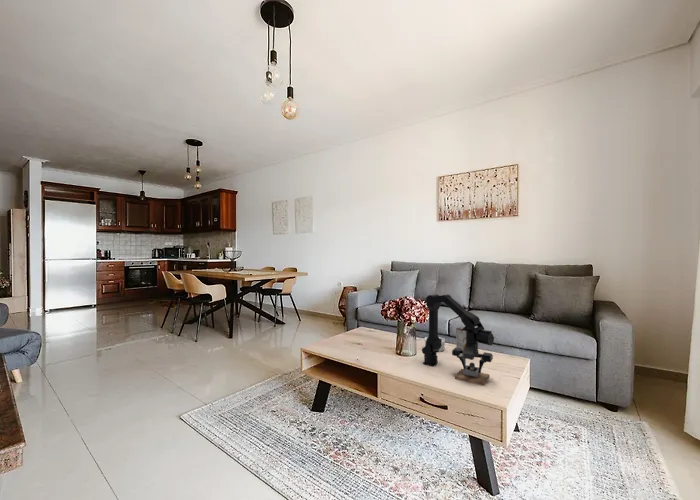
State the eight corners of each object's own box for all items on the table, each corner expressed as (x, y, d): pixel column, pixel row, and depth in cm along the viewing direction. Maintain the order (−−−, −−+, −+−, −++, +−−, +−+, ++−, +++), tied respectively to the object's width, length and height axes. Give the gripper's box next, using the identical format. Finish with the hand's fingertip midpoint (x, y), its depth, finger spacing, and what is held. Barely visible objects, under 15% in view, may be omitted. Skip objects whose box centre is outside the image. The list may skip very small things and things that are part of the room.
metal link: (463, 374, 161) (463, 369, 161) (466, 369, 167) (466, 365, 166) (477, 377, 157) (477, 372, 157) (480, 372, 162) (480, 367, 162)
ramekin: (441, 354, 199) (441, 343, 199) (421, 350, 206) (421, 340, 206) (447, 348, 210) (447, 338, 210) (428, 345, 217) (428, 335, 217)
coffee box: (467, 351, 203) (467, 326, 203) (474, 354, 198) (474, 328, 198) (456, 353, 200) (455, 328, 200) (463, 356, 194) (463, 330, 194)
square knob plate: (454, 379, 161) (454, 363, 161) (461, 371, 171) (461, 356, 171) (484, 385, 153) (484, 369, 153) (489, 377, 163) (489, 361, 163)
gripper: (448, 341, 160) (448, 372, 160) (488, 347, 150) (488, 381, 150) (455, 336, 170) (455, 365, 170) (492, 342, 159) (493, 373, 159)
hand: (472, 371), depth 162 cm, fingers closed on metal link, 7 cm apart
